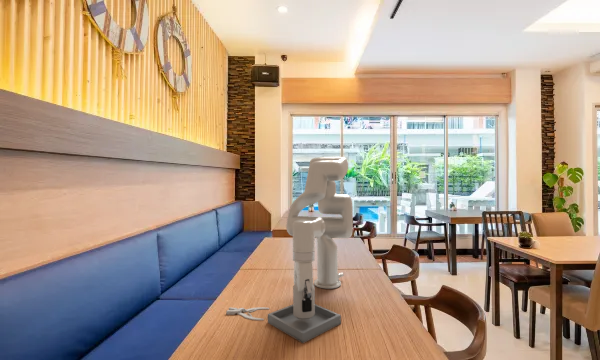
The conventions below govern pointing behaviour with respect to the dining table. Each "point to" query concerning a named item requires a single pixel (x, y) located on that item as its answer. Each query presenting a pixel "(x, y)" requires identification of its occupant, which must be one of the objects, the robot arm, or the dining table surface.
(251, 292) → the dining table surface
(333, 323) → the parts tray
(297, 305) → the can
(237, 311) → the pliers
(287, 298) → the dining table surface
